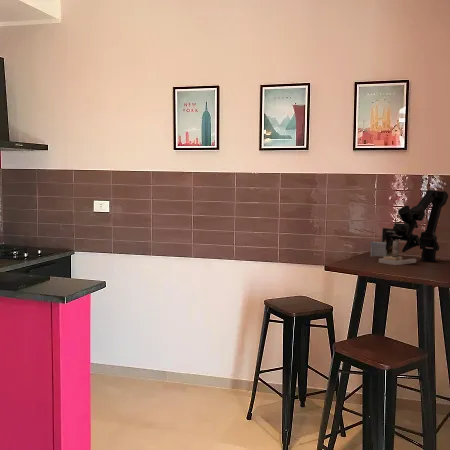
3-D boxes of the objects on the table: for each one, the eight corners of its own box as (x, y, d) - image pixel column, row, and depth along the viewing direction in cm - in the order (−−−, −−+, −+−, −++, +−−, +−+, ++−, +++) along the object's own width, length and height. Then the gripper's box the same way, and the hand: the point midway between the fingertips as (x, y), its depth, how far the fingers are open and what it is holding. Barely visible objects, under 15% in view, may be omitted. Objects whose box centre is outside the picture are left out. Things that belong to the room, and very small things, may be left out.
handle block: (390, 261, 269) (392, 240, 268) (402, 263, 264) (403, 241, 263) (382, 262, 264) (384, 240, 263) (394, 264, 259) (395, 242, 259)
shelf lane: (398, 262, 277) (399, 256, 277) (416, 265, 269) (416, 258, 269) (378, 264, 265) (378, 258, 265) (395, 267, 257) (396, 261, 257)
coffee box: (380, 256, 298) (382, 228, 296) (380, 255, 304) (381, 227, 303) (397, 257, 296) (399, 229, 294) (396, 256, 302) (398, 228, 301)
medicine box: (384, 257, 293) (385, 242, 292) (386, 259, 289) (387, 243, 288) (370, 257, 294) (370, 241, 293) (371, 258, 289) (372, 242, 289)
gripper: (386, 216, 273) (372, 237, 267) (419, 218, 259) (405, 241, 253) (393, 230, 279) (380, 252, 273) (426, 234, 265) (413, 257, 259)
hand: (394, 250), depth 264 cm, fingers open, 9 cm apart
